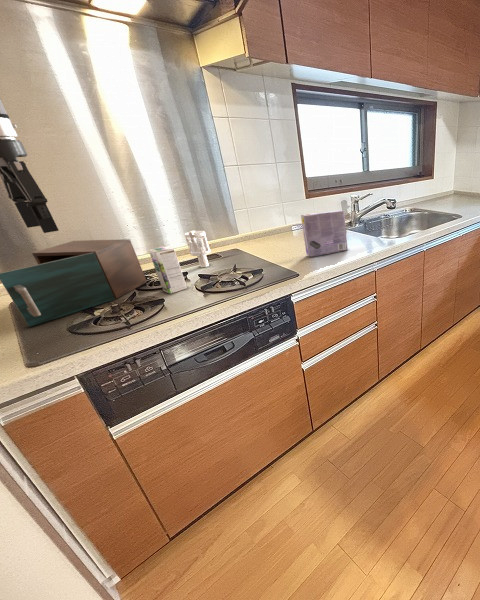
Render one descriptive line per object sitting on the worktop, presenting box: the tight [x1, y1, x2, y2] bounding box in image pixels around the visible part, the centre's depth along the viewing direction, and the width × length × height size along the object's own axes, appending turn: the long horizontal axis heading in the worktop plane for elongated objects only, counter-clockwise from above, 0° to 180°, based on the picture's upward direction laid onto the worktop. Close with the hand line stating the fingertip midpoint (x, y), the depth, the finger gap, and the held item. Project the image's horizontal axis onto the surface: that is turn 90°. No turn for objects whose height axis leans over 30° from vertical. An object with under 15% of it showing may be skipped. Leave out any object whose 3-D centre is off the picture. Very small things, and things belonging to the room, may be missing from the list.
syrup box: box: [148, 245, 188, 295], centre depth 108 cm, size 6×6×14 cm
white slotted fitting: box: [183, 230, 211, 268], centre depth 129 cm, size 7×7×15 cm
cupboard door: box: [0, 253, 116, 328], centre depth 93 cm, size 6×20×16 cm, turn 149°
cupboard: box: [31, 238, 148, 299], centre depth 109 cm, size 14×20×16 cm
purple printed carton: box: [300, 210, 349, 258], centre depth 141 cm, size 19×5×18 cm, turn 123°
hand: (42, 229), depth 85 cm, fingers open, 13 cm apart
